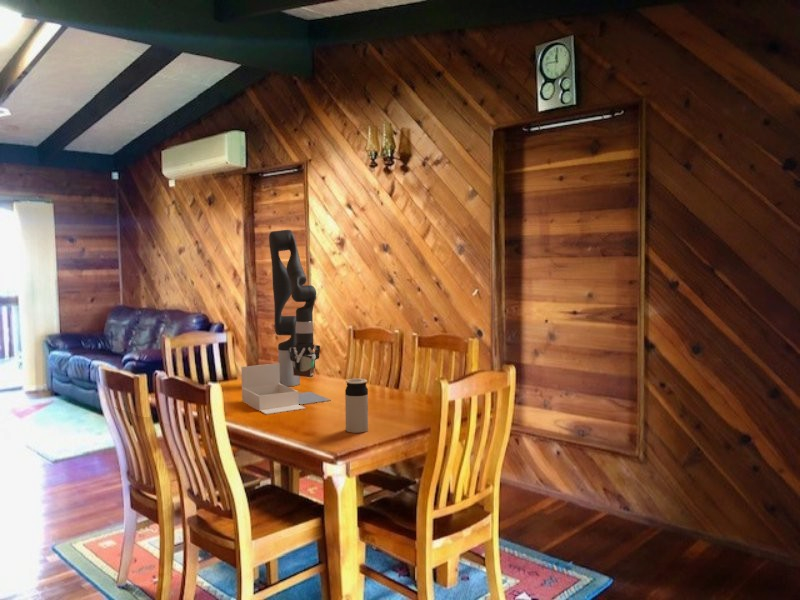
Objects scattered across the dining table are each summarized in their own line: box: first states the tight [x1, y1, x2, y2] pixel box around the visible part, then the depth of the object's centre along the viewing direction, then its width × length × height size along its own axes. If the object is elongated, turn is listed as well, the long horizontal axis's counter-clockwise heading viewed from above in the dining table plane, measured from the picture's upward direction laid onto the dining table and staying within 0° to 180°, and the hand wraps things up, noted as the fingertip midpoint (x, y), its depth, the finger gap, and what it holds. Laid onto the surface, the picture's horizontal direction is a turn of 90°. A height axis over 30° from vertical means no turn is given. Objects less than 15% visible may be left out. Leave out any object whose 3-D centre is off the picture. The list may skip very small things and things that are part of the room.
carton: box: [240, 362, 307, 416], centre depth 268 cm, size 17×27×15 cm, turn 34°
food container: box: [292, 351, 316, 379], centre depth 280 cm, size 12×6×10 cm, turn 59°
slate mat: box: [298, 391, 332, 406], centre depth 281 cm, size 14×20×1 cm
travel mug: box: [344, 378, 369, 434], centre depth 229 cm, size 8×8×18 cm
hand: (305, 370), depth 280 cm, fingers closed on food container, 6 cm apart
